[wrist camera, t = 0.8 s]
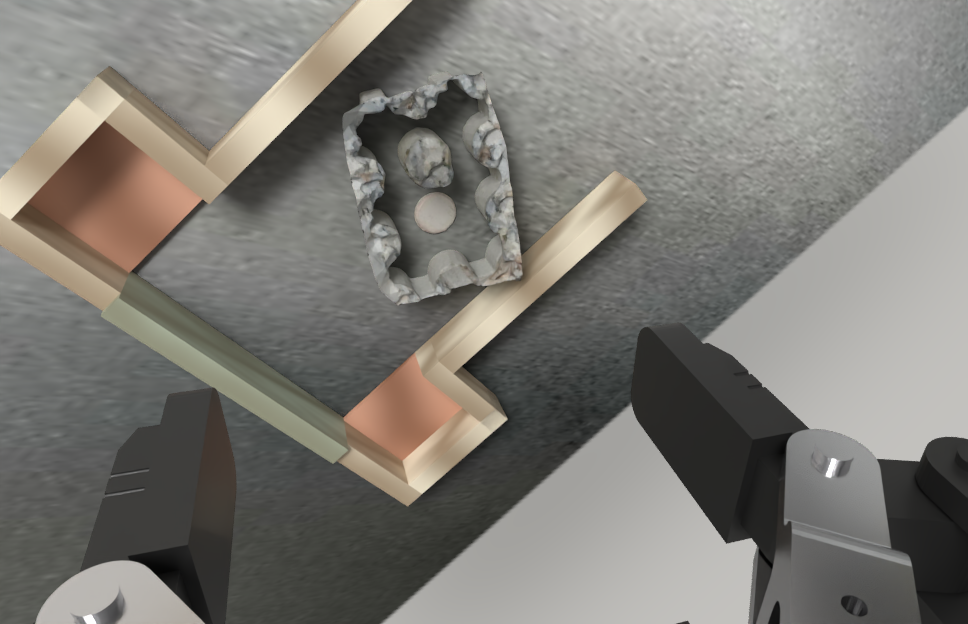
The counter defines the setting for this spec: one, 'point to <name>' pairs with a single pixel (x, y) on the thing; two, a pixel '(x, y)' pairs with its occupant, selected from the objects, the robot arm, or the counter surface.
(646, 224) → the counter surface
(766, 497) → the robot arm
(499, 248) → the egg carton
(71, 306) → the counter surface
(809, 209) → the counter surface
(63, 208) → the box
